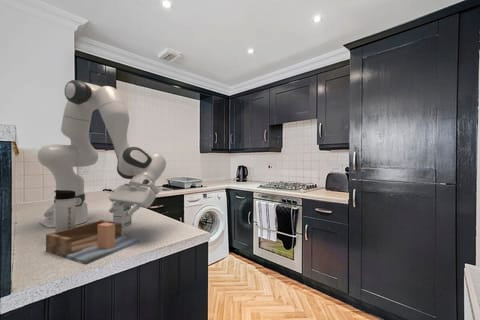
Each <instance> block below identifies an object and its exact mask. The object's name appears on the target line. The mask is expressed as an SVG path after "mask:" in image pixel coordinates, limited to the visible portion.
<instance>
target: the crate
mask: <svg viewBox="0 0 480 320" xmlns="http://www.w3.org/2000/svg"><path fill="white" fill-rule="evenodd" d="M105 222H107V223H112V224H115V246H114V247H111V248H109V249H104V248H100V247H97V239H98V224H101V223H105ZM122 228H123V227H122V223H116V222H113V221H109V220H104V219H100V220H97V221H93V222H90V223H89V222H88V223H86V224H85V223H84V224H81V225H78V226H75V227H73V228H69V229H65V230H61V231H58V232H55V231H53V232H51V233H50V232H49V233H46V234H45V253H49V254H51V255H52V254H53V255H55V256H58V257H62V258H65V259H67V260H71V261H74V262H78V263H80V264H82V265H83V264H84V265H88V264H90V263H92V262H95V261H97V260H99V259H102V258H105V257H107V256H110V255H111V254H114V253H117V252H118V251H121V250H124V249H126V248H129V247H132V246H133V245H136V244H138V243H140V239H139V238H134V237H128V236H125V235H122V232H123V231H122Z"/></svg>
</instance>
